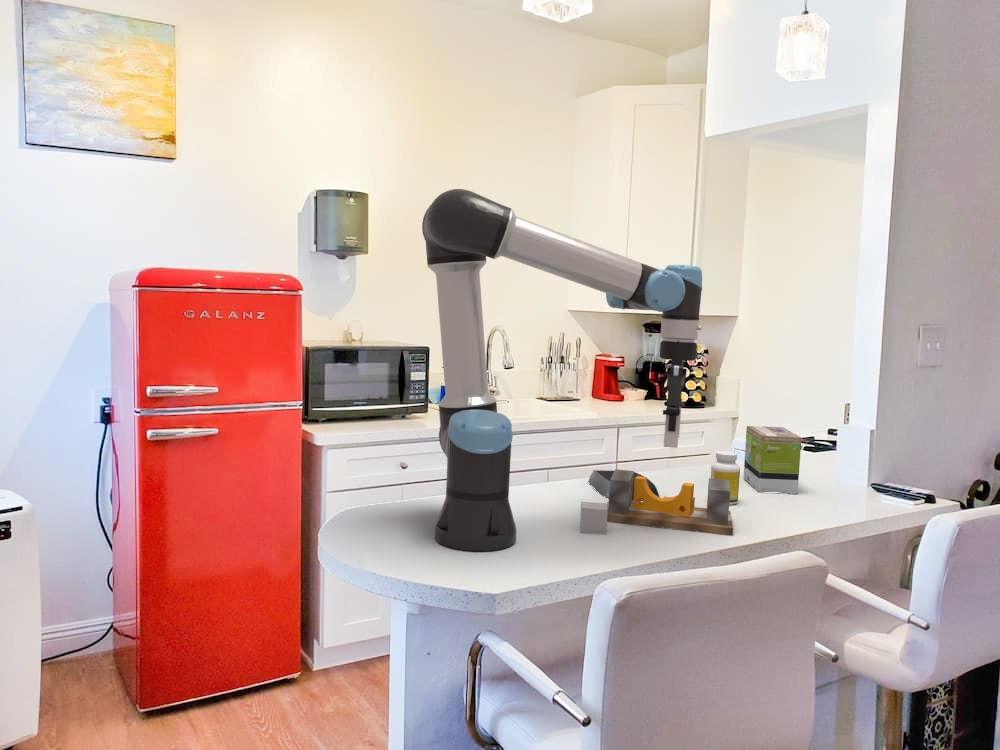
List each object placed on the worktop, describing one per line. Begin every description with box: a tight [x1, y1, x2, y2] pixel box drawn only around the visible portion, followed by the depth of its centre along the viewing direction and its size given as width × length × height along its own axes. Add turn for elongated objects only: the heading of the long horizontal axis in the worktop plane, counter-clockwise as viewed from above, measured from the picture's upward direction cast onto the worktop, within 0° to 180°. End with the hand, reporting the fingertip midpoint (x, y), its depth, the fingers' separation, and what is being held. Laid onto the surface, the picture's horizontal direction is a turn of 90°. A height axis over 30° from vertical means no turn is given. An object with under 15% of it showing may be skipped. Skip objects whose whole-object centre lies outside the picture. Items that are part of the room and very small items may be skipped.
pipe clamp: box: [633, 475, 696, 517], centre depth 168 cm, size 12×4×6 cm, turn 64°
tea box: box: [743, 425, 802, 495], centre depth 203 cm, size 15×10×15 cm, turn 178°
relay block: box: [579, 501, 608, 535], centre depth 157 cm, size 5×5×5 cm
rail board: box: [606, 469, 734, 536], centre depth 167 cm, size 26×14×8 cm, turn 76°
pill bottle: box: [710, 450, 741, 506], centre depth 185 cm, size 6×6×12 cm
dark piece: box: [587, 469, 660, 501], centre depth 191 cm, size 13×19×4 cm
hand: (671, 441), depth 166 cm, fingers open, 13 cm apart
